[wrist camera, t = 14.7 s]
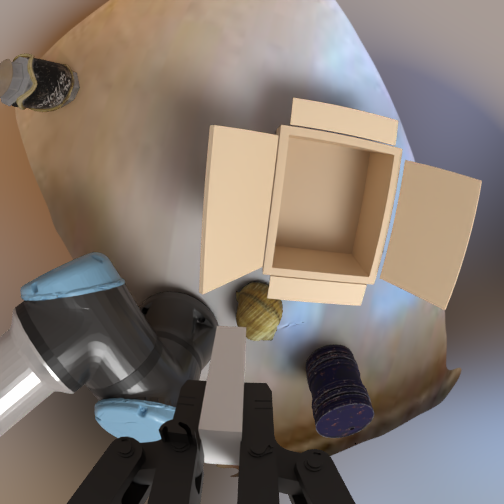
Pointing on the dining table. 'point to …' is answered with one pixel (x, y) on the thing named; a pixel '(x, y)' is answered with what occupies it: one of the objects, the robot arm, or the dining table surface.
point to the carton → (330, 203)
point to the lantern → (36, 83)
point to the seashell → (258, 312)
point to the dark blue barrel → (337, 392)
